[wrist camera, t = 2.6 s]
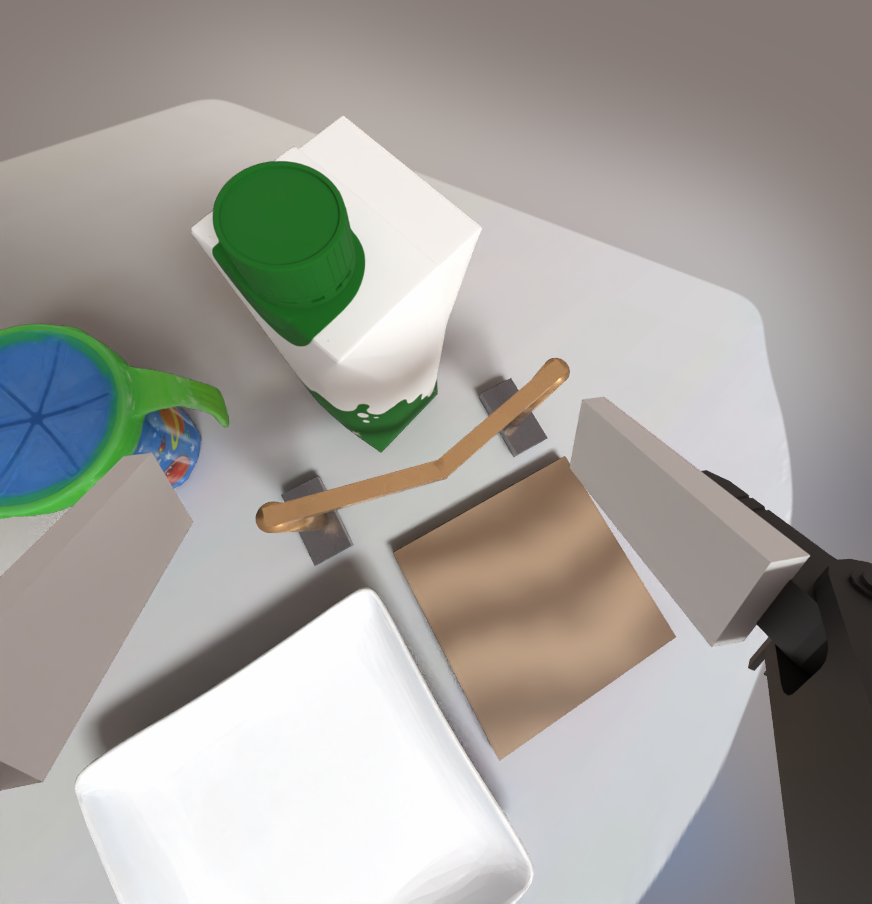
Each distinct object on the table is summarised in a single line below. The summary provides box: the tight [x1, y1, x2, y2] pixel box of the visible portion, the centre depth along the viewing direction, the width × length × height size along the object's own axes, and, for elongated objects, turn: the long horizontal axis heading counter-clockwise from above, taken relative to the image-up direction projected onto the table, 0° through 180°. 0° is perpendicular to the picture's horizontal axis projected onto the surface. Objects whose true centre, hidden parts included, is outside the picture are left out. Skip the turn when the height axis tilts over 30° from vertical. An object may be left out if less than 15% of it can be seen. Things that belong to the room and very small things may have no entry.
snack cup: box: [0, 324, 229, 519], centre depth 24 cm, size 16×10×10 cm
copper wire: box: [256, 358, 570, 565], centre depth 25 cm, size 6×21×10 cm, turn 119°
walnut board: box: [393, 456, 676, 761], centre depth 28 cm, size 16×16×1 cm
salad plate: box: [75, 588, 534, 904], centre depth 23 cm, size 21×21×3 cm
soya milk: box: [191, 116, 482, 452], centre depth 21 cm, size 9×9×20 cm
